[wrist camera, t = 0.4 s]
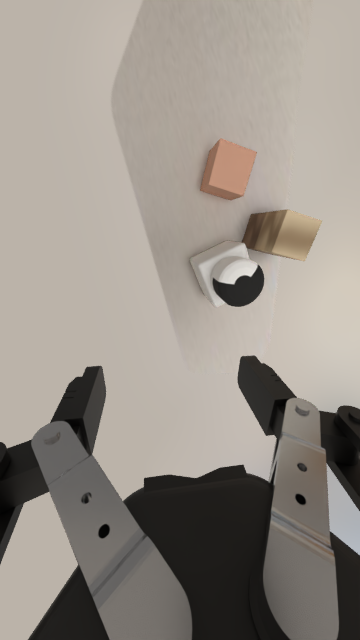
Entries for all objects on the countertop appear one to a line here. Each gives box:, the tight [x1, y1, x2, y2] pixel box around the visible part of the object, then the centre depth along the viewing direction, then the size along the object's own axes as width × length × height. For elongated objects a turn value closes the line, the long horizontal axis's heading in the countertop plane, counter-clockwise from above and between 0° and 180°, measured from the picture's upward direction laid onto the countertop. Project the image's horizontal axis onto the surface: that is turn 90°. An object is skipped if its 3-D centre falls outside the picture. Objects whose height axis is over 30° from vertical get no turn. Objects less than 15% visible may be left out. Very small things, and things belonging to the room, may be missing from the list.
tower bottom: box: [242, 212, 278, 256], centre depth 34 cm, size 5×5×5 cm
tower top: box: [254, 210, 322, 261], centre depth 30 cm, size 5×5×5 cm
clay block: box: [200, 138, 257, 200], centre depth 30 cm, size 5×5×5 cm
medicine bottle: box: [190, 240, 264, 307], centre depth 32 cm, size 7×7×12 cm
